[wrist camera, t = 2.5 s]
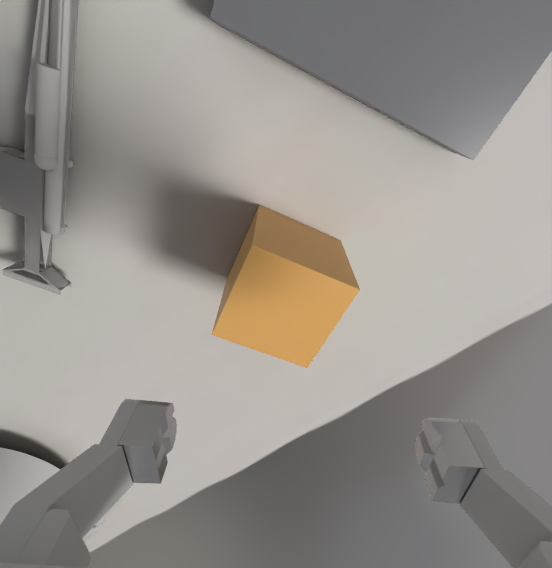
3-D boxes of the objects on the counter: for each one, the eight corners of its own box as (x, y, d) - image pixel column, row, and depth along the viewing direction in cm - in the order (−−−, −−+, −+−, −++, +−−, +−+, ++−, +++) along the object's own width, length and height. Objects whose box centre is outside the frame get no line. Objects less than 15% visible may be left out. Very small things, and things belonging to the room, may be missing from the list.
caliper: (19, 254, 24) (78, 286, 23) (-20, 266, 21) (44, 301, 21) (14, -602, 10) (155, -588, 9) (-92, -809, 8) (82, -811, 7)
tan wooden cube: (301, 307, 24) (307, 368, 19) (227, 278, 23) (211, 334, 18) (340, 240, 22) (359, 289, 16) (259, 204, 21) (252, 245, 15)
